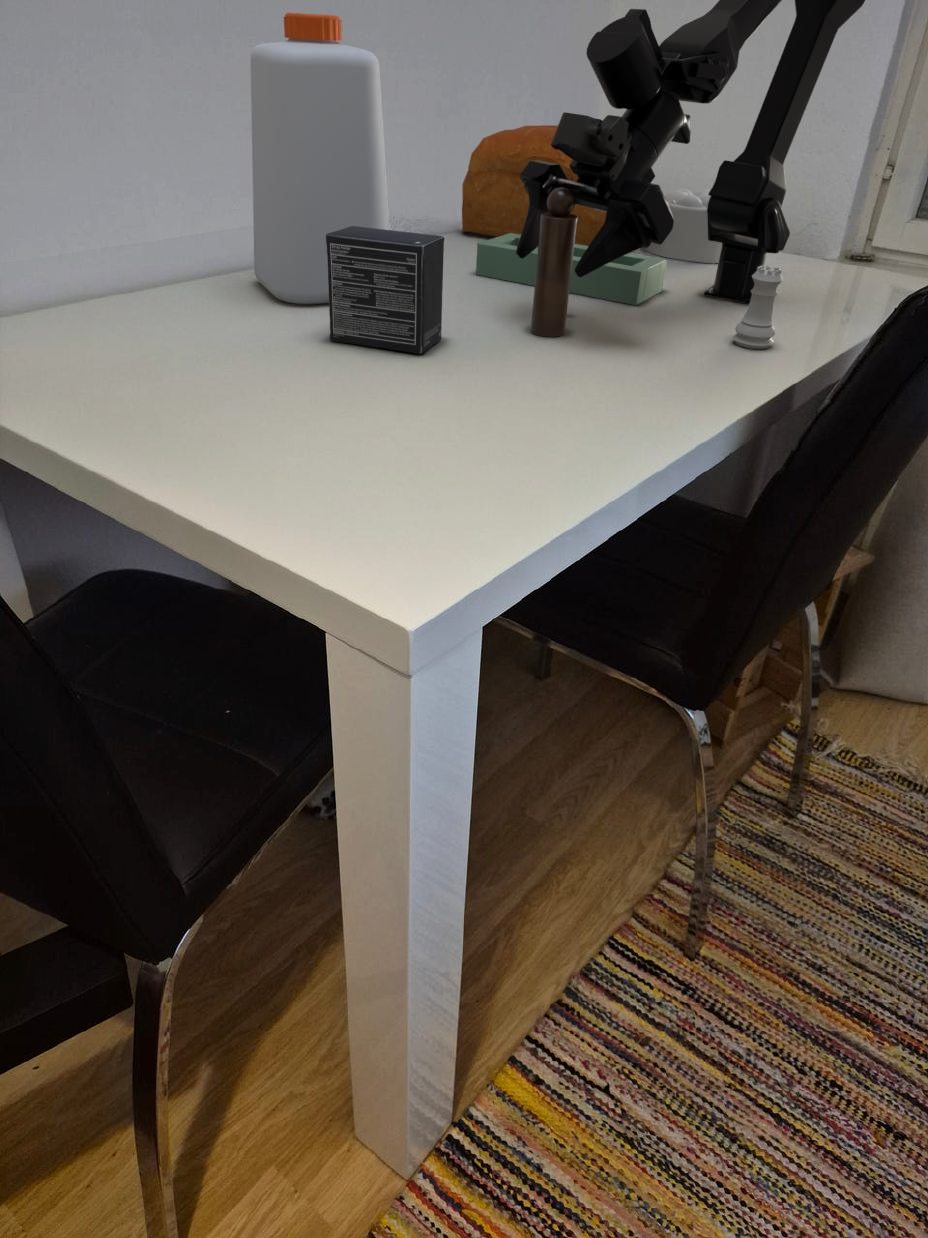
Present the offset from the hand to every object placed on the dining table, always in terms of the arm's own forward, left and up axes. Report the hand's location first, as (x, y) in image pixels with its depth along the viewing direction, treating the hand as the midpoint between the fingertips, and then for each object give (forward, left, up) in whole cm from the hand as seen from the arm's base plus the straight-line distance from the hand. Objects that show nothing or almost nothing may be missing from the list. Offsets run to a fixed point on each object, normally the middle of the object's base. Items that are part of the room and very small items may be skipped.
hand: (547, 264), depth 93 cm
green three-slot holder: (-23, -8, -7) cm, 25 cm away
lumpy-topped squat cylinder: (-53, -2, -7) cm, 54 cm away
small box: (+13, -12, -7) cm, 19 cm away
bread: (-47, -23, -7) cm, 53 cm away
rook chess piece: (-12, +20, -7) cm, 25 cm away
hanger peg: (-1, 0, -7) cm, 7 cm away
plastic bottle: (+1, -30, -7) cm, 31 cm away
